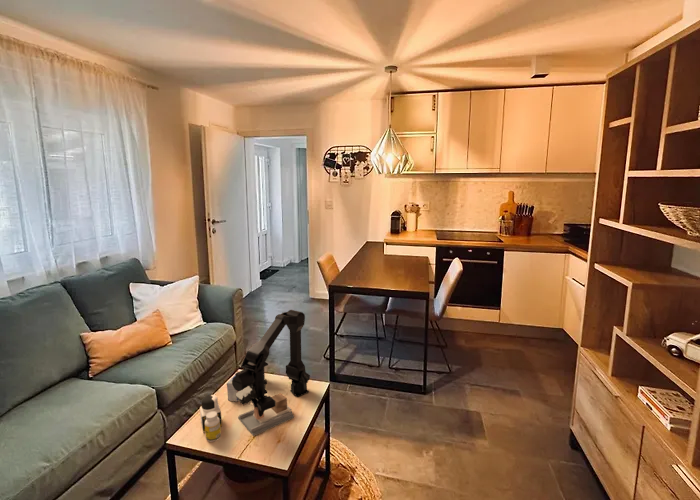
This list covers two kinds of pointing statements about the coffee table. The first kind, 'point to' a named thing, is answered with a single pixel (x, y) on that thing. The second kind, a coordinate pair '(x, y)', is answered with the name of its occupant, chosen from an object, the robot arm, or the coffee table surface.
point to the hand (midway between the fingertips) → (259, 414)
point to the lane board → (257, 427)
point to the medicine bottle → (209, 409)
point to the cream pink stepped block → (268, 414)
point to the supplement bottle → (212, 427)
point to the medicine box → (231, 391)
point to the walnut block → (279, 403)
